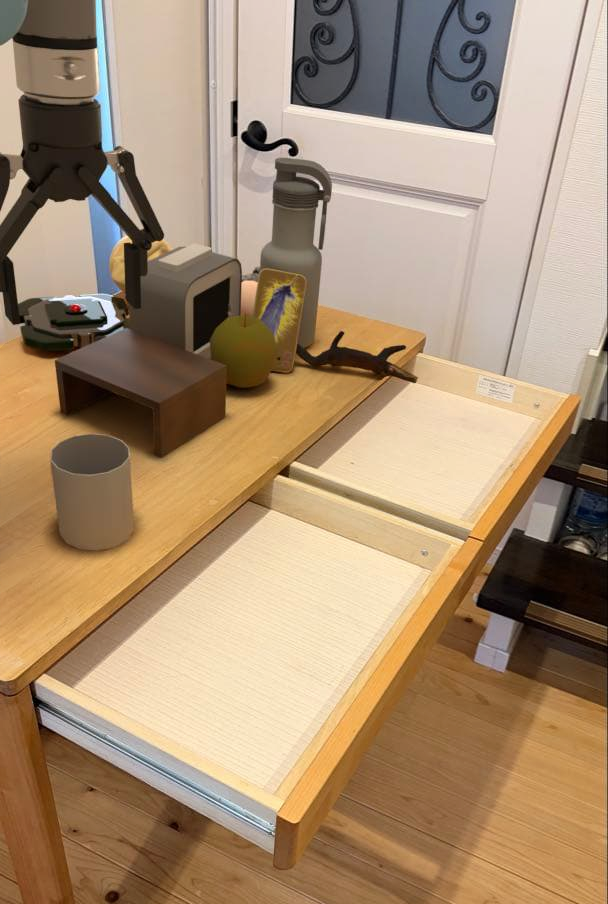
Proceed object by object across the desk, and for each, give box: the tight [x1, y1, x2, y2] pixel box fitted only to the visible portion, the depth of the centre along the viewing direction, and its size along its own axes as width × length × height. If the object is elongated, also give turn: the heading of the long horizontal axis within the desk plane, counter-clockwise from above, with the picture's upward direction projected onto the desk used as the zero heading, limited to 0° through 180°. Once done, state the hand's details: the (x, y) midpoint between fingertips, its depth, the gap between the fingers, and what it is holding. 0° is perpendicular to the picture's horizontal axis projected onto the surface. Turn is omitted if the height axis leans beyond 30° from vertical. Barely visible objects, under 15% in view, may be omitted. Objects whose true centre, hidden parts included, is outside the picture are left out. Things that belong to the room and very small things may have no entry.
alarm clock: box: [128, 242, 243, 359], centre depth 127 cm, size 16×11×16 cm
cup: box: [49, 432, 135, 552], centre depth 91 cm, size 8×8×10 cm
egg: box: [240, 281, 258, 317], centre depth 141 cm, size 7×7×8 cm
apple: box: [210, 314, 278, 389], centre depth 121 cm, size 10×10×11 cm
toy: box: [295, 330, 419, 384], centre depth 129 cm, size 23×7×5 cm
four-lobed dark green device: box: [18, 293, 130, 352], centre depth 133 cm, size 18×18×5 cm
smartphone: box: [253, 268, 306, 374], centre depth 127 cm, size 8×15×1 cm
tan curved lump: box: [108, 234, 173, 295], centre depth 143 cm, size 11×12×11 cm
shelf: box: [54, 328, 227, 458], centre depth 112 cm, size 14×18×8 cm
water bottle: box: [259, 157, 333, 349], centre depth 129 cm, size 10×10×28 cm
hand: (75, 312), depth 90 cm, fingers open, 13 cm apart
